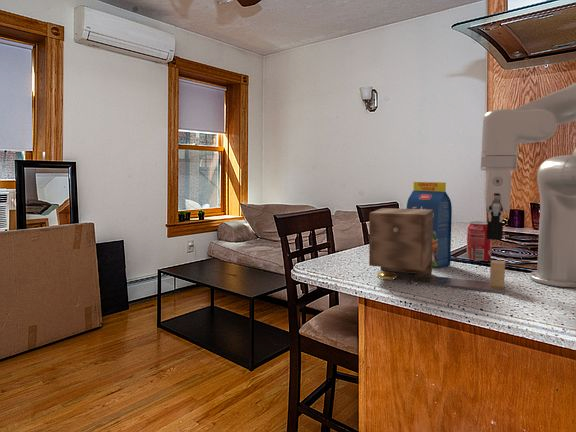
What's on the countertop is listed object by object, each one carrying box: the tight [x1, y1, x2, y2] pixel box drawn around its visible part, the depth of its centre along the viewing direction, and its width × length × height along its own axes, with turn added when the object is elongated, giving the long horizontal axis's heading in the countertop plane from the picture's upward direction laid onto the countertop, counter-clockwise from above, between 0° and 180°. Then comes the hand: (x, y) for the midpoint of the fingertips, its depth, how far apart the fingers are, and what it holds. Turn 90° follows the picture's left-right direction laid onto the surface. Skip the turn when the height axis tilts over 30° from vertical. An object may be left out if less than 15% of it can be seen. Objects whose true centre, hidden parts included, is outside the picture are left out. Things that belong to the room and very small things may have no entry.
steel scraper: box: [410, 259, 506, 294], centre depth 101 cm, size 21×7×7 cm, turn 62°
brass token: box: [377, 271, 398, 280], centre depth 109 cm, size 5×5×1 cm
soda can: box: [466, 221, 493, 262], centre depth 126 cm, size 7×7×12 cm
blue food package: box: [406, 181, 453, 269], centre depth 123 cm, size 6×12×25 cm, turn 31°
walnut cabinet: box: [368, 207, 433, 276], centre depth 108 cm, size 14×14×18 cm
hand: (494, 236), depth 96 cm, fingers open, 9 cm apart
